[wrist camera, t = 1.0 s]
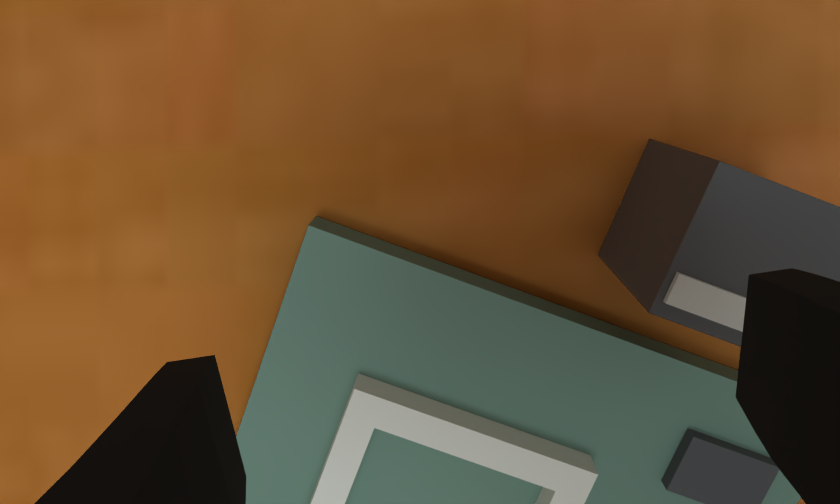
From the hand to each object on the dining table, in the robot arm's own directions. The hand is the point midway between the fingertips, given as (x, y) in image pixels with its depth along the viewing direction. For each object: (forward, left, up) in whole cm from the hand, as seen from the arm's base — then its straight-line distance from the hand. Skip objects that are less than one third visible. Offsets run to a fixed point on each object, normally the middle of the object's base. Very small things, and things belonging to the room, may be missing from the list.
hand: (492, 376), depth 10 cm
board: (-5, +9, -14) cm, 18 cm away
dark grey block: (-7, -2, -14) cm, 16 cm away
